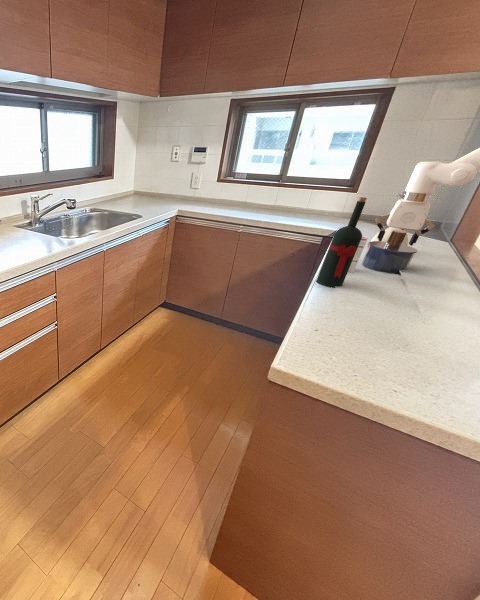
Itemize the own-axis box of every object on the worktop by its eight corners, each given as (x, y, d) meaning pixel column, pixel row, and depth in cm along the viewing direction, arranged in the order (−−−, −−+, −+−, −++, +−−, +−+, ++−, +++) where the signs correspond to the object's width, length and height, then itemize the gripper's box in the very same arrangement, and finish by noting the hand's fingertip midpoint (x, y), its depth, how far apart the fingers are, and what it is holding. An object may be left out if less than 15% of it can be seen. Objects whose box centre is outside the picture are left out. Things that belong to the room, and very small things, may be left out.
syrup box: (353, 273, 126) (369, 237, 119) (337, 272, 127) (351, 236, 120) (345, 268, 131) (360, 233, 125) (329, 267, 132) (343, 232, 125)
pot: (400, 265, 136) (410, 245, 133) (408, 278, 122) (419, 257, 119) (360, 258, 143) (368, 239, 140) (363, 270, 129) (372, 250, 126)
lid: (412, 248, 131) (421, 230, 128) (419, 257, 120) (429, 238, 117) (366, 241, 139) (373, 225, 135) (369, 250, 128) (377, 232, 124)
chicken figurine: (389, 255, 148) (404, 222, 141) (360, 246, 160) (373, 216, 153) (412, 254, 150) (429, 222, 144) (382, 245, 162) (396, 215, 156)
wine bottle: (318, 287, 113) (352, 199, 100) (314, 277, 121) (345, 194, 108) (346, 292, 110) (385, 201, 97) (339, 281, 118) (374, 197, 105)
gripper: (386, 196, 122) (367, 240, 130) (451, 201, 113) (426, 249, 121) (384, 194, 128) (366, 236, 135) (445, 198, 119) (422, 244, 126)
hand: (394, 242), depth 128 cm, fingers open, 9 cm apart
